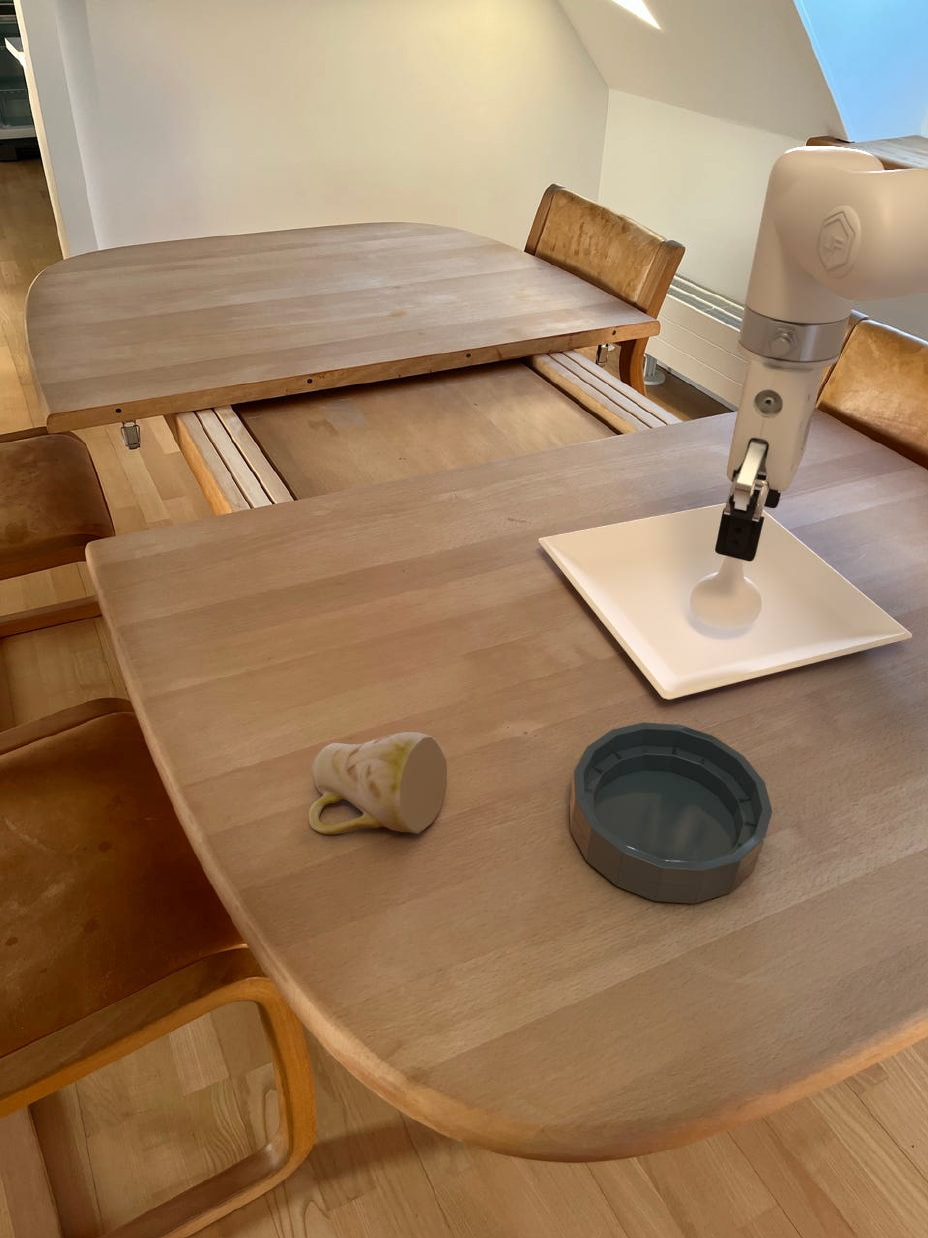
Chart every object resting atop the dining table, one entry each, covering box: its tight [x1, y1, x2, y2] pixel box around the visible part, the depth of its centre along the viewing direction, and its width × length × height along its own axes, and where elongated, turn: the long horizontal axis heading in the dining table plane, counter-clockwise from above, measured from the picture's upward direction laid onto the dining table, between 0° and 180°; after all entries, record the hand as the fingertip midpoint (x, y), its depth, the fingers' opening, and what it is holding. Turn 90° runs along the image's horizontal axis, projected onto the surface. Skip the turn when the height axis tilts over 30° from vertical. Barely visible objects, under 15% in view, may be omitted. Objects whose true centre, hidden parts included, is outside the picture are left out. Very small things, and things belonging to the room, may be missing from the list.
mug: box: [308, 731, 448, 835], centre depth 68 cm, size 8×10×10 cm
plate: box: [537, 502, 913, 701], centre depth 92 cm, size 26×26×2 cm
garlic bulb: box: [690, 556, 762, 629], centre depth 84 cm, size 6×6×8 cm
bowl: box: [569, 721, 773, 904], centre depth 68 cm, size 14×14×4 cm
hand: (747, 528), depth 80 cm, fingers open, 9 cm apart
